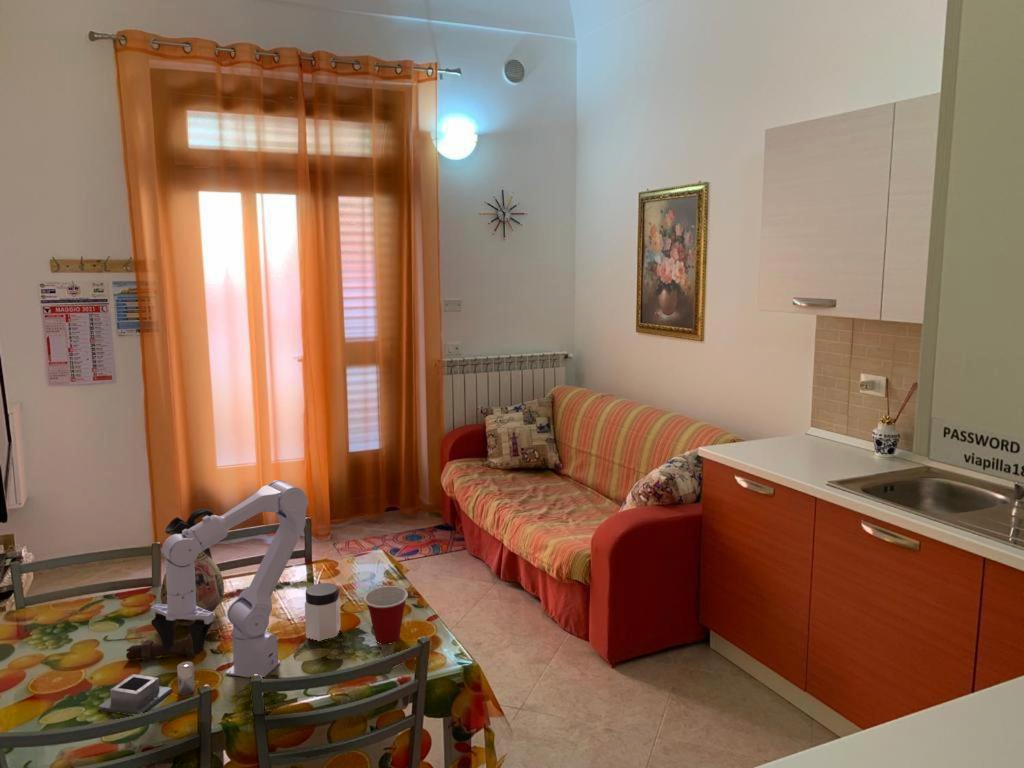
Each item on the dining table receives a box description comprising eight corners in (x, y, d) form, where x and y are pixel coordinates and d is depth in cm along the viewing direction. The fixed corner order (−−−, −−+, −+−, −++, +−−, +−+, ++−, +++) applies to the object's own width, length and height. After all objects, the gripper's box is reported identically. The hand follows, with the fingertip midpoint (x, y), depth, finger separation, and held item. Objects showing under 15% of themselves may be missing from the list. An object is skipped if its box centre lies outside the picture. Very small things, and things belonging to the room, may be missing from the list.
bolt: (130, 666, 179) (197, 658, 182) (123, 665, 175) (192, 657, 178) (131, 640, 181) (197, 633, 184) (125, 639, 177) (192, 631, 180)
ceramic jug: (173, 638, 190) (166, 523, 186) (155, 617, 201) (148, 509, 197) (240, 618, 201) (235, 509, 197) (219, 600, 212) (213, 497, 208)
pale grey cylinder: (197, 688, 166) (196, 662, 165) (188, 695, 163) (186, 669, 162) (185, 686, 167) (183, 660, 166) (175, 693, 164) (173, 667, 163)
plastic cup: (356, 645, 186) (355, 599, 184) (378, 627, 196) (377, 583, 194) (395, 653, 182) (394, 606, 180) (416, 634, 192) (415, 589, 190)
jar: (336, 642, 188) (334, 596, 186) (303, 642, 187) (301, 596, 186) (343, 625, 197) (341, 581, 195) (311, 626, 196) (310, 582, 195)
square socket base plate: (171, 691, 165) (170, 675, 164) (138, 716, 155) (137, 699, 155) (133, 685, 167) (132, 669, 167) (98, 709, 158) (97, 692, 157)
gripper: (139, 593, 160) (142, 653, 162) (197, 601, 157) (200, 663, 158) (162, 581, 167) (165, 639, 169) (219, 588, 163) (221, 648, 165)
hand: (183, 650), depth 164 cm, fingers open, 7 cm apart
